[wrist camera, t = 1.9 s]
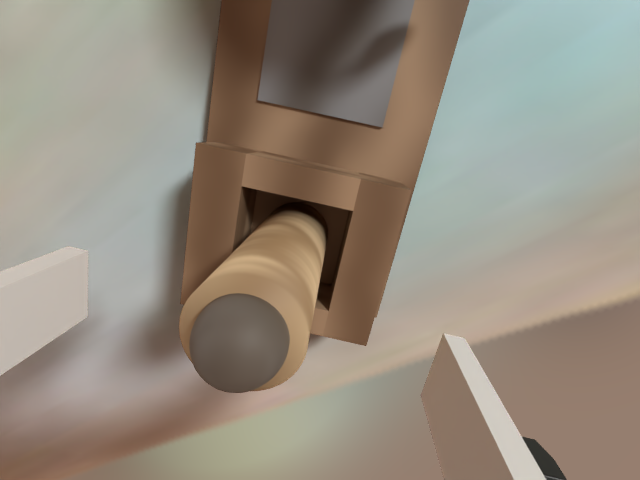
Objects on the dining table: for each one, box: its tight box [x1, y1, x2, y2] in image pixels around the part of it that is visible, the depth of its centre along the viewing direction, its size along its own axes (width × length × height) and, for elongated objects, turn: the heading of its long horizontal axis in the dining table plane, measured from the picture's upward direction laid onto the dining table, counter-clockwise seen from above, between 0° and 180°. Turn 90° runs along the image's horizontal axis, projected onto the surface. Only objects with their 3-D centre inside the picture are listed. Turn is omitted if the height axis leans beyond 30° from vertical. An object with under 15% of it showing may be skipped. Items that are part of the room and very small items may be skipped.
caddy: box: [180, 0, 469, 346], centre depth 21 cm, size 14×22×5 cm, turn 168°
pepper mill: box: [179, 202, 328, 393], centre depth 17 cm, size 4×4×15 cm
